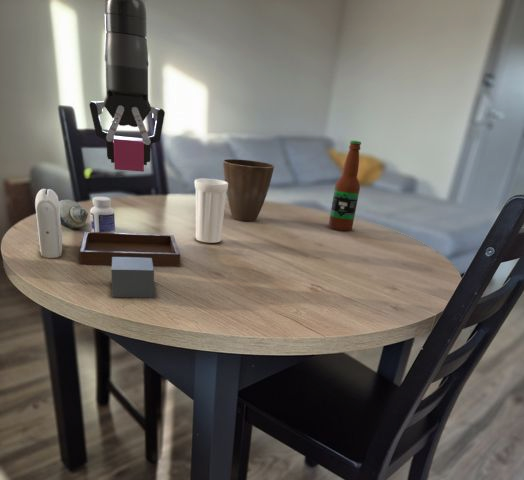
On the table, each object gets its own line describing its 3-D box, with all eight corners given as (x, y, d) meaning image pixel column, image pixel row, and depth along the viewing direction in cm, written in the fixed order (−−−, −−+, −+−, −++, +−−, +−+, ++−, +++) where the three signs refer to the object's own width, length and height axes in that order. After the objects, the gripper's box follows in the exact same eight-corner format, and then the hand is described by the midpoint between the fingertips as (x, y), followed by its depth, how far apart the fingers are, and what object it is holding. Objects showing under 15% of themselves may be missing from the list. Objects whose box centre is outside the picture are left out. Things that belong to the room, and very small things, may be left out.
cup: (190, 235, 123) (193, 177, 117) (222, 237, 125) (226, 179, 118) (193, 244, 116) (196, 183, 110) (226, 246, 118) (231, 185, 111)
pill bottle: (119, 236, 116) (118, 198, 112) (108, 241, 111) (106, 202, 107) (99, 232, 117) (97, 194, 112) (87, 237, 112) (85, 198, 108)
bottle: (324, 228, 147) (339, 139, 135) (332, 224, 153) (347, 139, 141) (347, 233, 144) (364, 143, 133) (354, 228, 150) (371, 142, 139)
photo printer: (62, 258, 98) (57, 195, 92) (39, 258, 96) (32, 194, 90) (63, 243, 106) (58, 185, 100) (41, 243, 104) (35, 184, 99)
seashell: (79, 226, 125) (83, 239, 115) (49, 214, 121) (51, 225, 111) (88, 204, 123) (93, 214, 114) (58, 190, 119) (61, 200, 110)
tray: (80, 264, 96) (79, 251, 94) (85, 243, 108) (84, 231, 107) (179, 266, 101) (180, 254, 100) (173, 246, 113) (173, 235, 112)
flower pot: (209, 214, 147) (212, 158, 139) (247, 211, 156) (252, 159, 149) (239, 226, 137) (244, 167, 130) (278, 222, 146) (284, 167, 139)
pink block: (114, 169, 93) (113, 138, 90) (114, 165, 97) (113, 135, 95) (143, 171, 94) (143, 141, 91) (142, 167, 99) (142, 138, 96)
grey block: (112, 297, 83) (111, 269, 81) (112, 282, 89) (112, 256, 86) (153, 297, 85) (154, 270, 82) (151, 283, 91) (151, 257, 88)
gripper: (165, 70, 92) (164, 163, 100) (86, 60, 89) (91, 157, 96) (168, 69, 86) (167, 169, 94) (83, 58, 82) (89, 163, 90)
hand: (128, 163), depth 95 cm, fingers closed on pink block, 5 cm apart
